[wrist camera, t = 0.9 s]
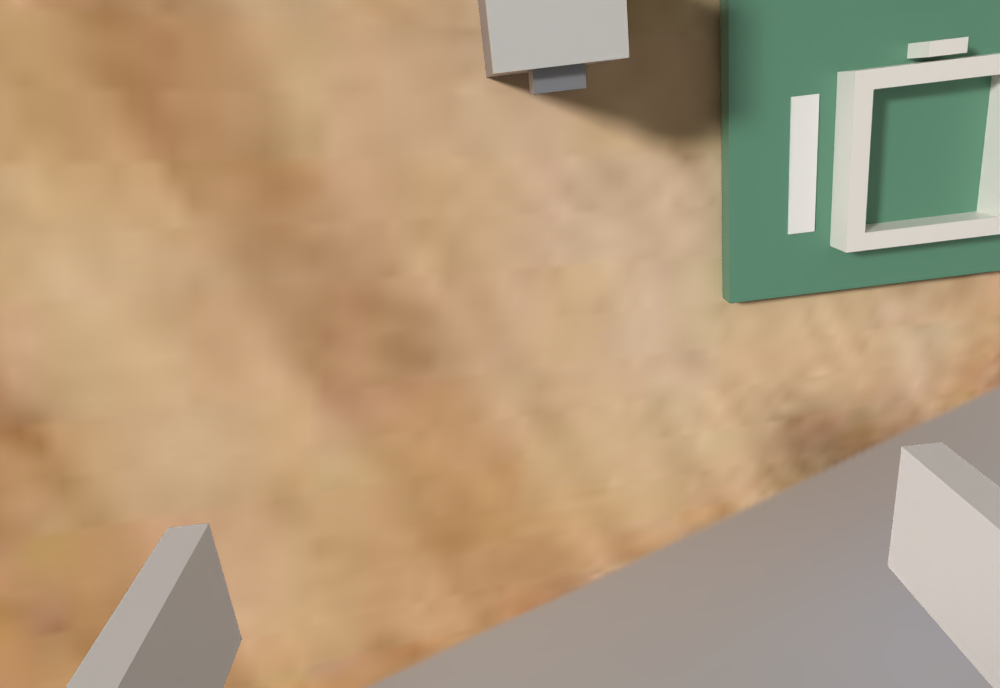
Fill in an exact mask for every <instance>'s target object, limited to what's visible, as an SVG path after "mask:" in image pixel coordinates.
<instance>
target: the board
mask: <svg viewBox="0 0 1000 688" xmlns="http://www.w3.org/2000/svg"><path fill="white" fill-rule="evenodd" d="M720 9H721V140H722V271H723V298H724V299H725V300H726V301H728V302H729V303H736V302H744V301H753V300H761V299H769V298H777V297H786V296H794V295H802V294H810V293H819V292H827V291H835V290H843V289H851V288H860V287H868V286H876V285H884V284H893V283H901V282H909V281H917V280H926V279H934V278H942V277H950V276H959V275H967V274H975V273H983V272H992V271H1000V0H720Z"/></svg>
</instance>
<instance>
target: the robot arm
mask: <svg viewBox="0 0 1000 688" xmlns="http://www.w3.org/2000/svg"><path fill="white" fill-rule="evenodd" d="M888 567H889V568H890V569H891V570H892V571H893V573H894V574H895V575H896V576H897V577H898V578H899V580H900V581H901V582H902V583H903V584H904V585H905V586H906V588H907V589H908V590H909V591H910V592H911V593H912V594H913V596H914V597H915V598H916V599H917V600H918V601H919V603H920V604H921V605H922V606H923V607H924V608H925V609H926V610H927V612H928V613H929V614H930V615H931V616H932V618H933V619H934V620H935V621H936V622H937V623H938V625H939V626H940V627H941V628H942V629H943V630H944V631H945V633H946V634H947V635H948V636H949V637H950V638H951V640H952V641H953V642H954V643H955V644H956V645H957V646H958V648H959V649H960V650H961V651H962V652H963V653H964V655H965V656H966V657H967V658H968V659H969V660H970V661H971V663H972V664H973V665H974V666H975V667H976V668H977V670H978V671H979V672H980V673H981V674H982V675H983V676H984V678H985V679H986V680H987V681H988V682H989V683H990V685H991V686H992V687H993V688H1000V487H999V486H998V485H997V484H995V483H994V482H993V481H991V480H990V479H989V478H987V477H986V476H985V475H984V474H982V473H981V472H980V471H978V470H977V469H976V468H975V467H973V466H972V465H971V464H969V463H968V462H966V461H965V460H964V459H963V458H961V457H960V456H959V455H958V454H956V453H955V452H954V451H952V450H951V449H950V448H949V447H947V446H946V445H945V444H943V443H942V442H938V443H929V444H920V445H910V446H902V448H901V457H900V466H899V474H898V482H897V491H896V500H895V507H894V516H893V524H892V533H891V541H890V550H889V559H888ZM241 640H242V638H241V634H240V631H239V627H238V624H237V620H236V617H235V613H234V610H233V606H232V603H231V599H230V596H229V592H228V589H227V585H226V582H225V578H224V575H223V571H222V567H221V564H220V560H219V557H218V553H217V550H216V546H215V543H214V539H213V536H212V532H211V529H210V525H209V523H206V524H197V525H188V526H179V527H170V528H167V530H166V531H165V533H164V535H163V536H162V538H161V539H160V541H159V542H158V544H157V546H156V547H155V549H154V550H153V552H152V553H151V555H150V556H149V558H148V560H147V561H146V563H145V564H144V566H143V567H142V569H141V571H140V572H139V574H138V575H137V577H136V578H135V580H134V581H133V583H132V585H131V586H130V588H129V589H128V591H127V592H126V594H125V595H124V597H123V599H122V600H121V602H120V603H119V605H118V606H117V608H116V610H115V611H114V613H113V614H112V616H111V617H110V619H109V620H108V622H107V624H106V625H105V627H104V628H103V630H102V631H101V633H100V635H99V636H98V638H97V639H96V641H95V642H94V644H93V645H92V647H91V649H90V650H89V652H88V653H87V655H86V656H85V658H84V660H83V661H82V663H81V664H80V666H79V667H78V669H77V670H76V672H75V674H74V675H73V677H72V678H71V680H70V681H69V683H68V685H67V686H66V688H223V686H224V684H225V681H226V679H227V676H228V673H229V671H230V668H231V666H232V663H233V660H234V658H235V655H236V653H237V650H238V647H239V645H240V642H241Z"/></svg>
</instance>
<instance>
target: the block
mask: <svg viewBox="0 0 1000 688" xmlns="http://www.w3.org/2000/svg"><path fill="white" fill-rule="evenodd" d="M478 5H479V14H480V23H481V32H482V41H483V50H484V59H485V68H486V77H495V76H504V75H512V74H520V73H528V77H529V88H530V94H540V93H548V92H557V91H565V90H574V89H582V88H586V73H585V66H588V65H594V64H599V63H604V62H609V61H614V60H619V59H624V58H629V41H628V20H627V0H478Z"/></svg>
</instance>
